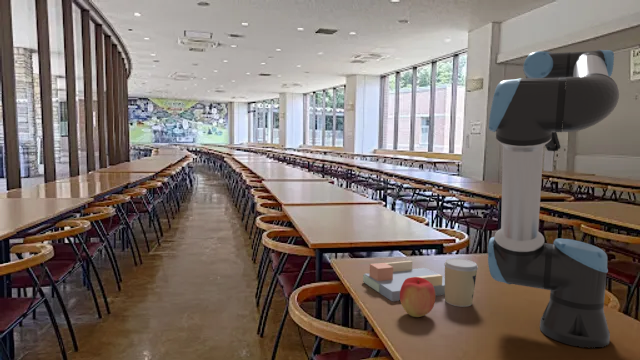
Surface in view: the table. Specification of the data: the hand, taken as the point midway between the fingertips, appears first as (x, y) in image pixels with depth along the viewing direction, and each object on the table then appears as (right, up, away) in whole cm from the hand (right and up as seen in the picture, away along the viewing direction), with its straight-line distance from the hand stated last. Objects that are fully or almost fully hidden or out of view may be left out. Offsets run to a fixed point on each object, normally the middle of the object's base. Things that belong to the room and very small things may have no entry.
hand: (532, 171), depth 141 cm
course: (-38, -38, +3) cm, 54 cm away
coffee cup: (-26, -39, -9) cm, 48 cm away
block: (-48, -34, +2) cm, 59 cm away
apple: (-41, -40, -20) cm, 61 cm away
